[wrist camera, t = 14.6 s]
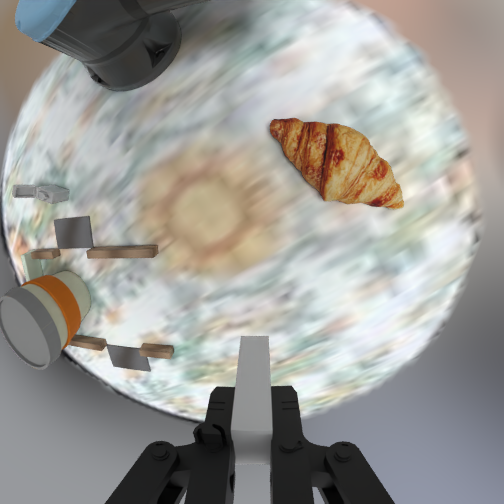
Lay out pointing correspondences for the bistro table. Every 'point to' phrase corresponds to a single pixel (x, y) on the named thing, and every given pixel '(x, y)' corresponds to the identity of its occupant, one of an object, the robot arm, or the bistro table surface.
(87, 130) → the bistro table surface
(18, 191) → the lighter
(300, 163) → the croissant
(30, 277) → the pale grey board
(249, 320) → the bistro table surface
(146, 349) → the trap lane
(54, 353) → the reusable coffee cup
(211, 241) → the bistro table surface
